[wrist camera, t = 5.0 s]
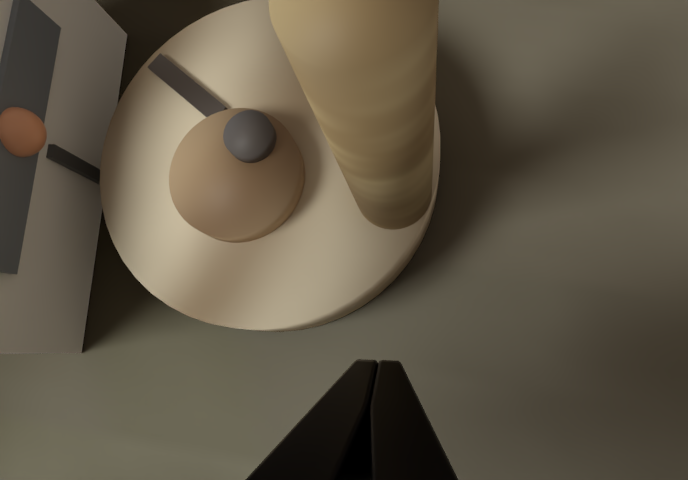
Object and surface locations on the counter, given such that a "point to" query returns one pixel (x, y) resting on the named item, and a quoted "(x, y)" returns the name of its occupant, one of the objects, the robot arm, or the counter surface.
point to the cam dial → (277, 160)
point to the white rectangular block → (52, 165)
